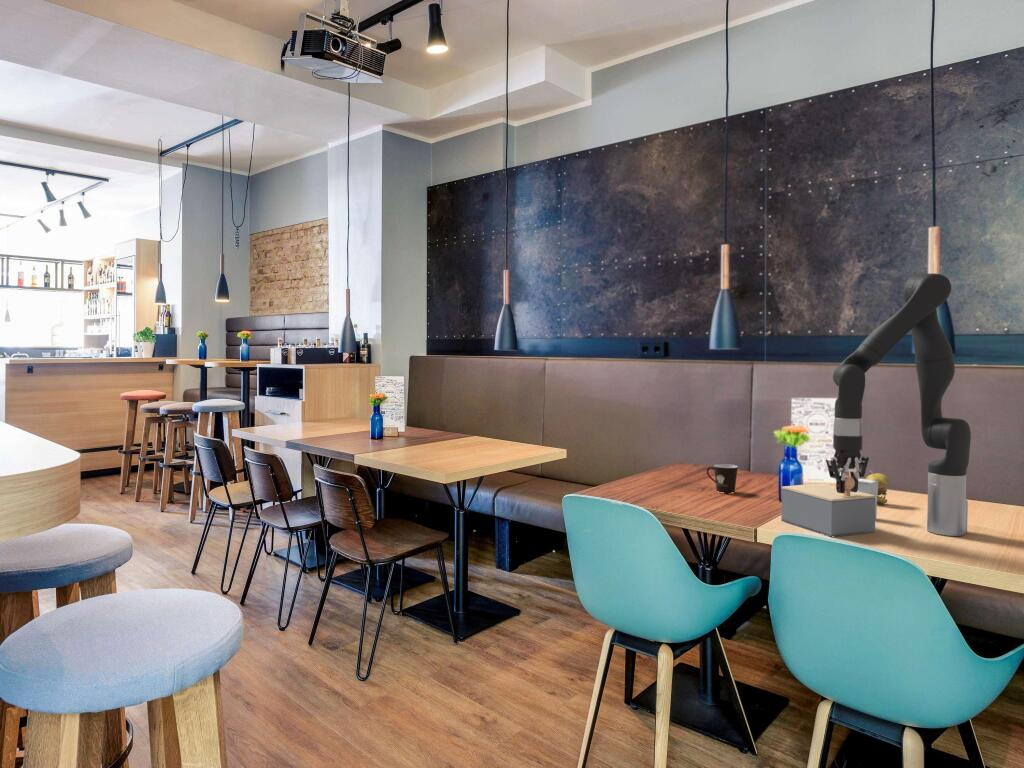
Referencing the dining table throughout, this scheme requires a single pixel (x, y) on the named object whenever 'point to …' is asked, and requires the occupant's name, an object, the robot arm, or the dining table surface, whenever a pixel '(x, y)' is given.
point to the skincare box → (869, 489)
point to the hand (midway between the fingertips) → (846, 492)
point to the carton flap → (830, 491)
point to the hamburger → (879, 485)
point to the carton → (828, 514)
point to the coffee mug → (724, 477)
